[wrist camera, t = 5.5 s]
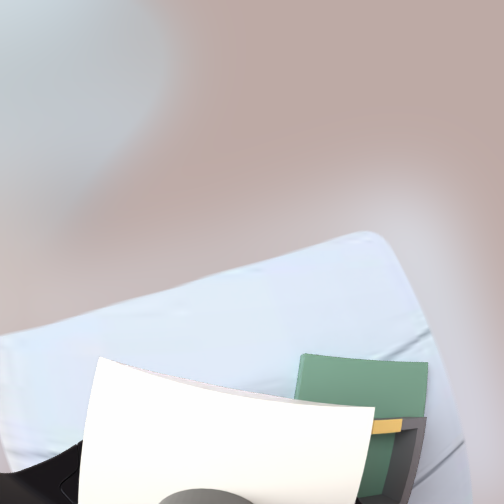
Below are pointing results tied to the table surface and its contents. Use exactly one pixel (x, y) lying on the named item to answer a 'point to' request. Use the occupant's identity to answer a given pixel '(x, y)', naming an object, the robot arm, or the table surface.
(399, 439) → the header board
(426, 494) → the table surface
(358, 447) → the plug block
